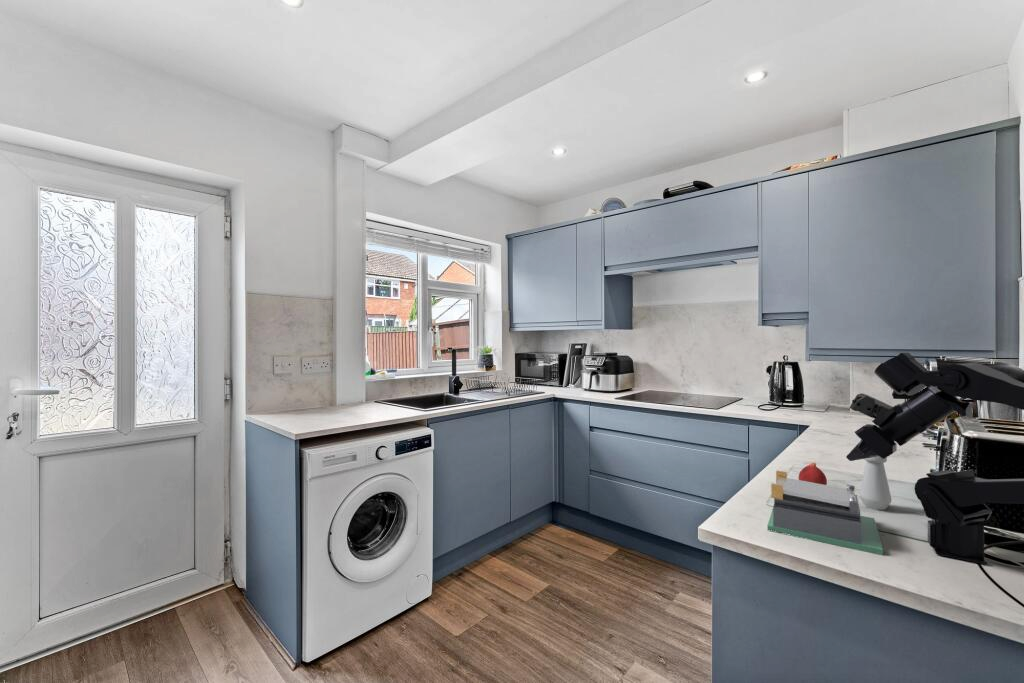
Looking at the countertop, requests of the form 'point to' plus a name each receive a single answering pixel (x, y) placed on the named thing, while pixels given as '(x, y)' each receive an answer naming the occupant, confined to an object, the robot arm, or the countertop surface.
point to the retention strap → (817, 491)
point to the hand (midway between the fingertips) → (848, 458)
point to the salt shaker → (875, 484)
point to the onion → (812, 474)
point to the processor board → (868, 540)
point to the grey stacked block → (816, 515)
